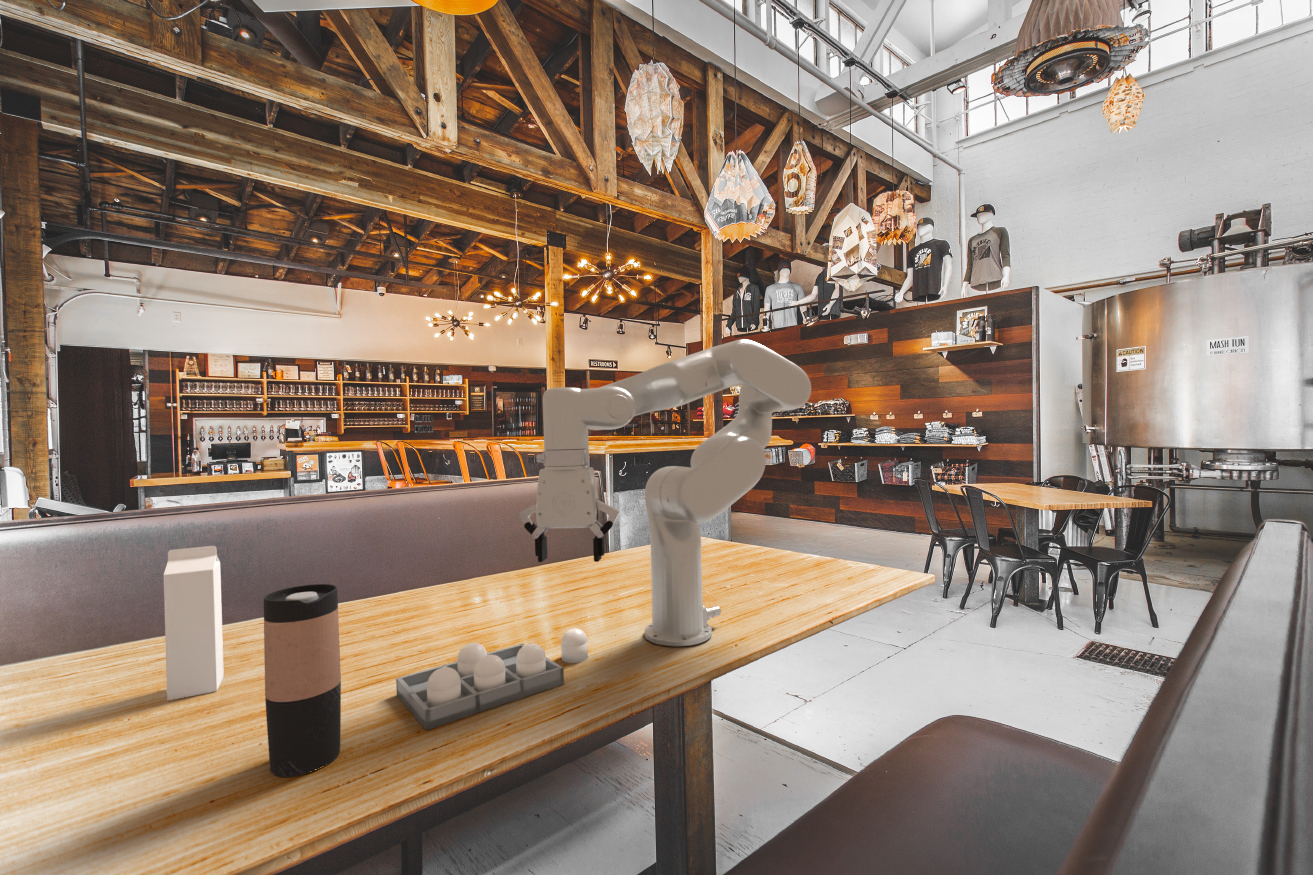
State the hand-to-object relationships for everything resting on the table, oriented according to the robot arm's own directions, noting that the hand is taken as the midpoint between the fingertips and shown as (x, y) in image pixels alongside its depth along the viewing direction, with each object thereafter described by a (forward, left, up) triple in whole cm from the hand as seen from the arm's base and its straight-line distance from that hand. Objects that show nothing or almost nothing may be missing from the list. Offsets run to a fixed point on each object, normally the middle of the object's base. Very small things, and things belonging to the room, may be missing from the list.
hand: (570, 560), depth 97 cm
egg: (0, 0, -17) cm, 17 cm away
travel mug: (+40, +5, -17) cm, 44 cm away
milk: (+50, -30, -17) cm, 60 cm away
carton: (+17, +1, -17) cm, 24 cm away
